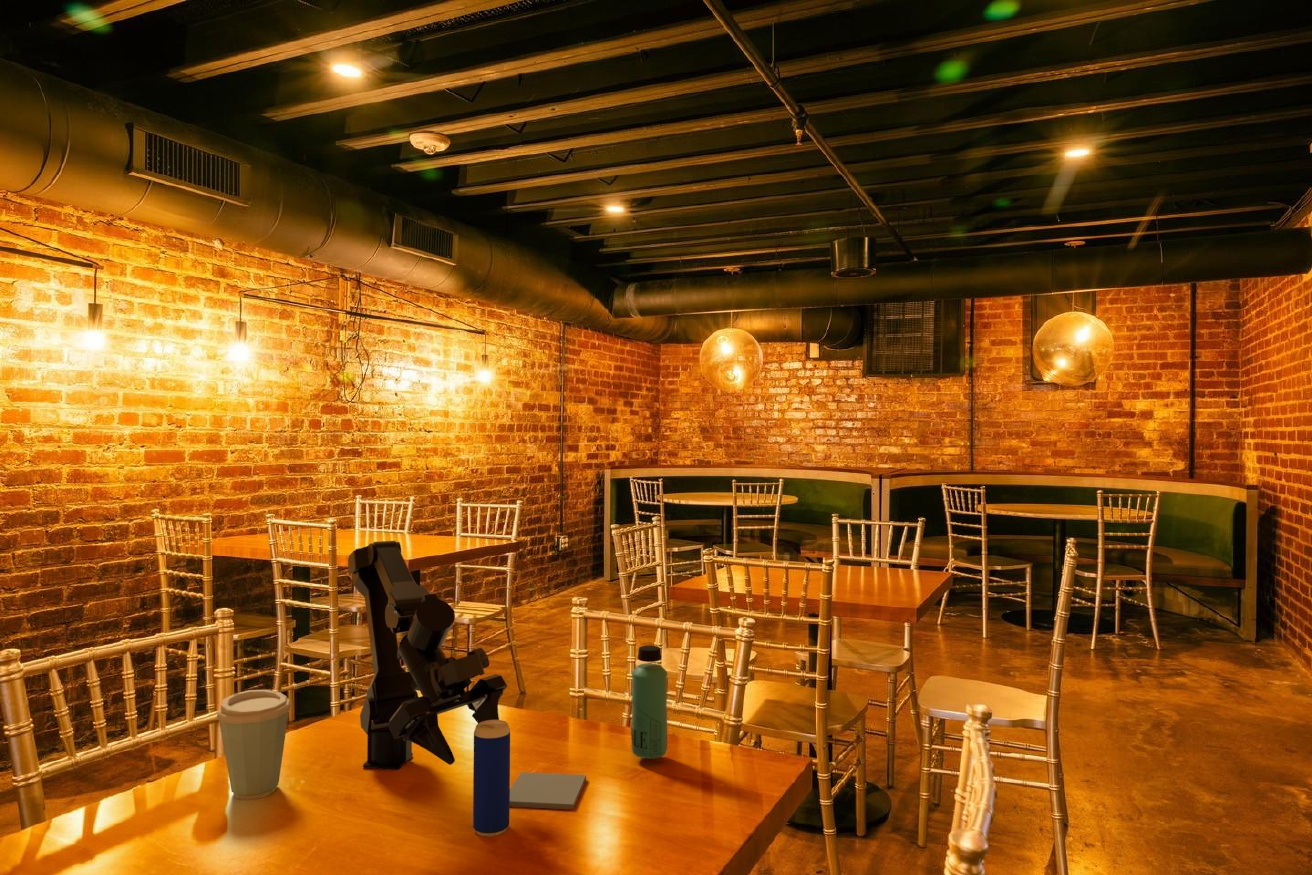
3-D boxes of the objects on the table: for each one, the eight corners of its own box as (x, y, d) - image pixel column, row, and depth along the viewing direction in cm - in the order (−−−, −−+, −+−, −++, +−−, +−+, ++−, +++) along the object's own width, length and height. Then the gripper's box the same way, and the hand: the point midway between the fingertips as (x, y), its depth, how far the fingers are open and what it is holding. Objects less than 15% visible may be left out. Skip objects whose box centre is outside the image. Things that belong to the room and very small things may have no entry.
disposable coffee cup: (305, 785, 132) (306, 692, 132) (247, 812, 122) (248, 712, 122) (259, 773, 136) (260, 684, 136) (199, 799, 127) (201, 702, 127)
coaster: (502, 805, 125) (502, 800, 125) (521, 776, 136) (521, 772, 136) (573, 809, 124) (573, 804, 124) (586, 779, 135) (586, 775, 135)
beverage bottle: (672, 755, 145) (673, 643, 146) (660, 769, 139) (661, 652, 139) (638, 751, 148) (639, 640, 148) (624, 764, 141) (625, 649, 141)
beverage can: (513, 821, 120) (514, 719, 120) (503, 838, 115) (504, 731, 115) (479, 820, 120) (480, 718, 120) (467, 836, 115) (468, 730, 115)
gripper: (401, 645, 115) (453, 740, 108) (499, 622, 130) (550, 705, 123) (367, 691, 119) (415, 785, 113) (465, 664, 135) (512, 746, 128)
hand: (477, 753), depth 119 cm, fingers open, 9 cm apart
